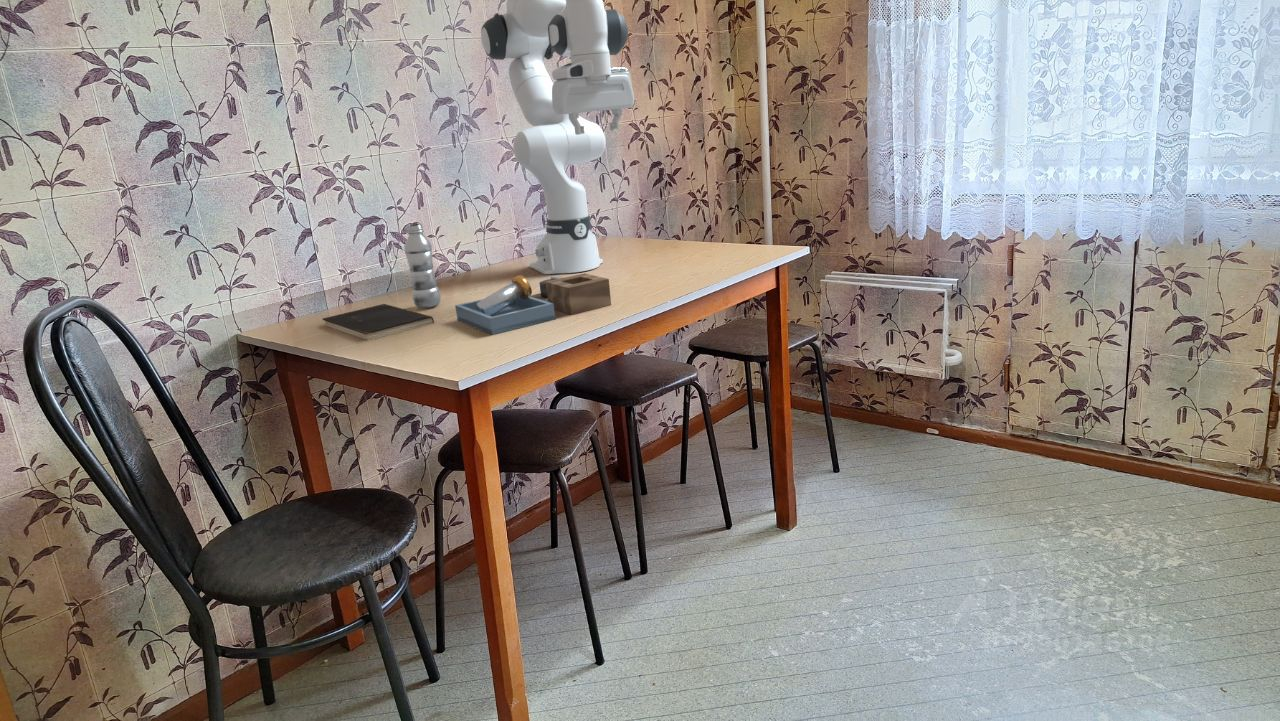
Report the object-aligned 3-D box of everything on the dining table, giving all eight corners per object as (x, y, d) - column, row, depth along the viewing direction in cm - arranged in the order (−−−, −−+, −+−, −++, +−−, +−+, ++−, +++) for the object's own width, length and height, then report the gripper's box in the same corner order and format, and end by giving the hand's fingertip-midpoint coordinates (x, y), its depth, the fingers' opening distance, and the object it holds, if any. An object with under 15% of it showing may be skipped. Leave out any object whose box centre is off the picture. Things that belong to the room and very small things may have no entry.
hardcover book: (367, 343, 176) (365, 333, 175) (324, 328, 192) (322, 318, 192) (434, 325, 186) (433, 315, 185) (388, 312, 202) (386, 303, 202)
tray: (457, 320, 186) (455, 305, 185) (517, 306, 194) (515, 292, 193) (492, 334, 172) (489, 318, 171) (555, 319, 179) (553, 303, 178)
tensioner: (530, 301, 197) (527, 277, 196) (567, 293, 203) (565, 268, 201) (571, 314, 182) (568, 288, 180) (611, 304, 187) (608, 278, 186)
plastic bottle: (447, 303, 203) (434, 221, 197) (432, 310, 197) (418, 226, 191) (424, 303, 205) (410, 222, 199) (409, 310, 199) (394, 227, 193)
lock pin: (470, 300, 181) (513, 274, 187) (480, 320, 183) (522, 295, 189) (482, 301, 177) (525, 275, 183) (492, 322, 179) (534, 296, 185)
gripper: (621, 67, 195) (626, 128, 199) (545, 72, 184) (552, 136, 188) (637, 65, 190) (642, 127, 194) (559, 70, 179) (566, 136, 183)
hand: (597, 132), depth 191 cm, fingers open, 8 cm apart
